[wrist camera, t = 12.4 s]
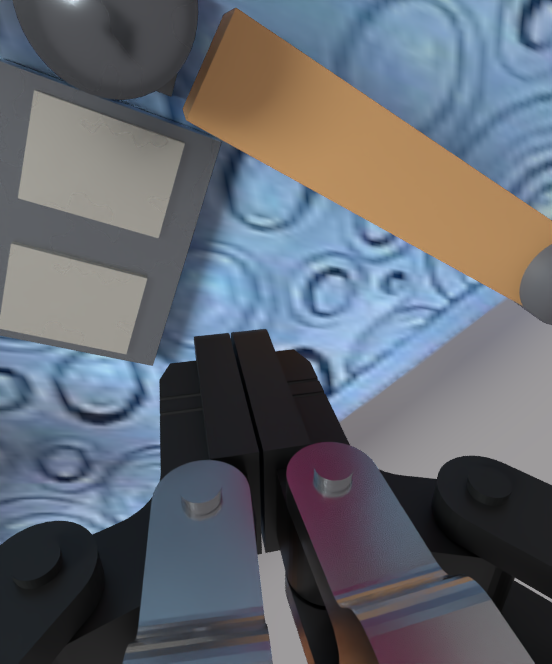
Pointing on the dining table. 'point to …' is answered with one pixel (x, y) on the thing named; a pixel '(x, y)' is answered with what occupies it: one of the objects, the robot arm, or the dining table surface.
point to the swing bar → (368, 161)
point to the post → (112, 42)
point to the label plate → (93, 215)
